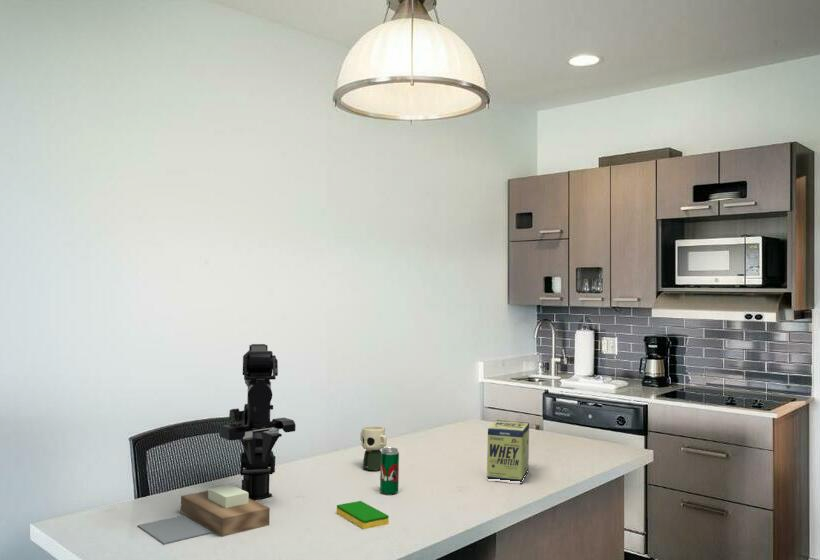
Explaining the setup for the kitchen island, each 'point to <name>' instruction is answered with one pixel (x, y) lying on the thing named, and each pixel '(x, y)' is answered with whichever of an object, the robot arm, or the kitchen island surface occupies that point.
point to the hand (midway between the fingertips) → (257, 462)
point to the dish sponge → (362, 514)
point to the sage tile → (228, 496)
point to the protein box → (508, 450)
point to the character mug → (373, 445)
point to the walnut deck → (224, 514)
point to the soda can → (389, 470)
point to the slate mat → (174, 529)
